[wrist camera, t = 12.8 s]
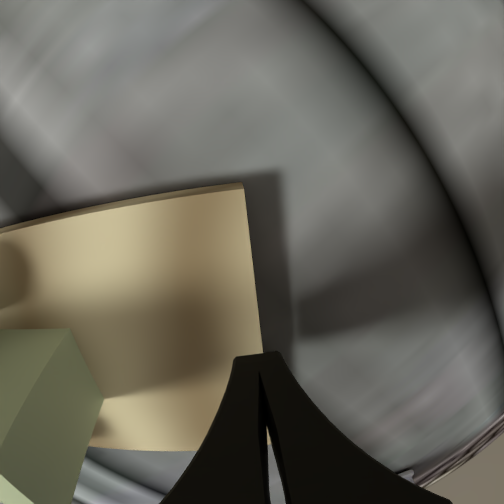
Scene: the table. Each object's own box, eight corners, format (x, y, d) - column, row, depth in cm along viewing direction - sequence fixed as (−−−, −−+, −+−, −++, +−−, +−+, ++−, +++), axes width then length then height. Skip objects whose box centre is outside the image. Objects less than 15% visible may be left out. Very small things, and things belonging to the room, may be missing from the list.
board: (241, 181, 9) (250, 210, 6) (270, 424, 13) (280, 487, 10) (-74, 251, 9) (-118, 281, 5) (9, 416, 13) (-12, 456, 9)
